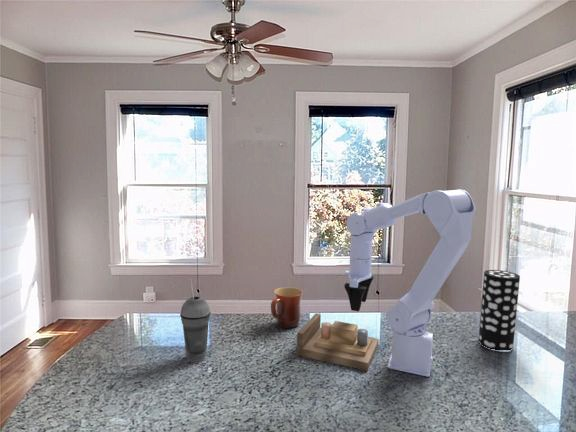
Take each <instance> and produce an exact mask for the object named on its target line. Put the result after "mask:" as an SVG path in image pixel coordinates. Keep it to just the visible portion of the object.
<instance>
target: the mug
mask: <svg viewBox="0 0 576 432" xmlns="http://www.w3.org/2000/svg"><path fill="white" fill-rule="evenodd" d="M273 294H274V299H272V301H271V303H270V311H271V316H272V317H273V318H275V321H276V324H277V326H279V327H281V328H284V329H293V328H296V327H298V326H299V324H300V321H301V300H302V298H303V295H304V292H303V290H302V289H300V288H297V287H294V286H293V287H292V286H290V287H289V286H285V287H278V288H276V289H274V290H273Z"/></svg>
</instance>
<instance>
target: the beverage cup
mask: <svg viewBox="0 0 576 432" xmlns="http://www.w3.org/2000/svg"><path fill="white" fill-rule="evenodd" d="M188 280H189V286H190V296H191V297H190V298H188V299H186V300H185V302H184V303H182V305H181V308H180V315H179V316H180V320H181V324H182V328H183V337H184V338H183V339H184V346H185V347H184V348H185V355H186V360H188V361H187V362H189V363H193V364H194V363H195V364H196V363H200V362H202V361H205V360H206V358H207V357H206V355H207V345H208V335H209V321H210V318H211V313H212V312H211V308H210V305H209V303H208V301H207V300H205V298H203V297H200V296H195V295H194V288H193V283H192V279H191V278H189V279H188Z"/></svg>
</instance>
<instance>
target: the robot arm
mask: <svg viewBox="0 0 576 432" xmlns="http://www.w3.org/2000/svg"><path fill="white" fill-rule="evenodd" d="M476 210H477V207H476V204H475V203H474V200H473V198H472V196H471V193H469V192H468V191H466V190H464V189H453V190H439V189H437V190H433V191H430V192H423V193H421V194H417V195H416V196H413V197H411V198H408V199H406V200H404V201H402V202H399V203H397V204H395V205H391V204H390V203H384V202H378V203H377V204H376V206H375V207H372V208H370V209H369V208H364V209H363V210H362V211H363V212H359V213H358V212H353V213H351V214H349V216H348V217H347V219H346V229H347V231H348V232H349V234H350V243H349V245H350V246H349V247H350V248H349V269H348V270H346V271H344V275H345V276H348V277H349V282H346V283H345V284H344V287H343V288H344V289H345V292H346V293H347V297H348V301H349V307H350V310H351V311H353V312H354V311H355V312H360V309H361V307H362V303H366V301H367V298H368V294H369V290H370V286H371V284H372V282H373V281H374V279H375V277H374V275H372V256H373V255H372V253H373V251H372V250H373V240H374V238H375V233H376V231H379V230H383V229H386V228H389V227H392V226H394V225H395V224H396V223H397V222H398V221H397V220H398V219H401V218H403V217H408V216H411V215H414V214H417V213H419V214H421V215H426V217H428V220H429V221H430V222H431V224H432V225H433V227H434V229H436V230H435V231H437V232H438V235H439V236H440V239H439V241H438V242H437V243H436V245H435V247H434V249H433V251H432V252H431V254H430V256H429V258H428V259H427V260H426V262H425V264H424V266H423V268H422V270H421V271H420V273H419V274H418V276H417V278H416V279H415V281H414V283H413V285H412V286H411V288H410V289H409V291H408V292H407V293H406V294H405V295H404V296H402V297H401V298H399V299H398V301H397V303H396V304H395V305H393V306H391V307H390V308H388V310H387V314H386V319H387V323H388V324H389V326H390V328H391V331H392V343H391V355H390V357H389V359H388V364H387V368H388V369H390V370H396V371H398V372H399V371H400V372H405V373H408V374H409V373H410V374H414V375H418V376H423V377H430V375H431V369H432V365H433V362H434V360H433V359H434V357H433V356H432V354H433V343H434V342H433V341H434V339H433V338H434V334H433V332H429V331H426V325H427V324H429V322H430V321H431V319H432V313H433V309H434V308H435V303H434V301H433V300H434V299H435V297H436V296H437V294H438V293H439V291H440V290H441V288H442V287H443V285H444V283H445V282H446V280H447V278H448V277H449V276H450V274H451V272H452V271H453V269H454V268H455V266H456V264H457V263H458V262H459V260H460V258H461V257H462V256H463V254H464V253H465V251H466V249H467V247H468V246H469V244H470V242H471V240H472V229H473V217H474V215H475V213H476Z"/></svg>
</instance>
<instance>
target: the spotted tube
mask: <svg viewBox="0 0 576 432" xmlns="http://www.w3.org/2000/svg"><path fill="white" fill-rule="evenodd" d="M483 272H484V273H483V284H482V292H481V294H482V295H481V305H480V318H479V319H480V320H479V328H478V329H479V330H478V331H479V332H478V340H477V341H479V343H480V344H481V345H483V346H485V347H487V348H490V349H495V350H511V349H512V348H513V349H514V343H515V342H514V341H515V335H516V334H515V333H516V332H515V331H516V322H517V310H518V299H519V290H520V281H521V280H520V279H521V276H520V275H519V274H518V273H514V272H513V271H512V272H511V271H508V270H500V269H499V270H498V269H488V270H484V271H483ZM479 343H478V344H479ZM480 344H479V345H480ZM481 345H480V346H481Z"/></svg>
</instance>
